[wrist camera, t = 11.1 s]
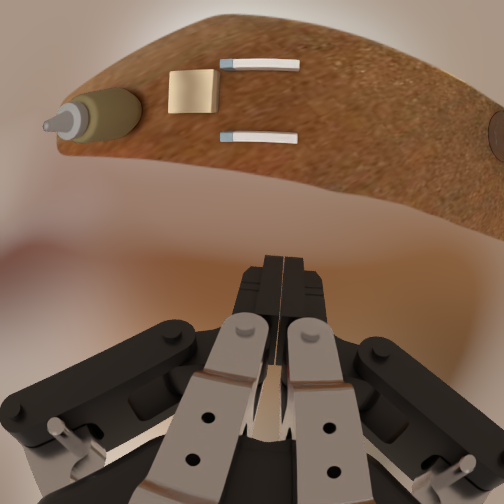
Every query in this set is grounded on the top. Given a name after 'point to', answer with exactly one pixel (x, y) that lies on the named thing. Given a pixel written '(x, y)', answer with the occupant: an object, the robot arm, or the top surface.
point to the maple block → (194, 91)
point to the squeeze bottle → (96, 116)
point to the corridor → (259, 65)
